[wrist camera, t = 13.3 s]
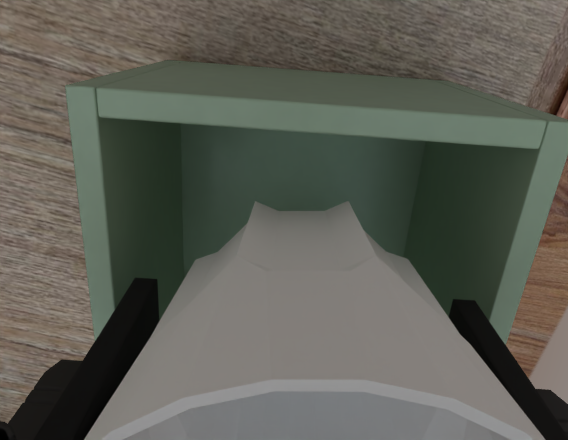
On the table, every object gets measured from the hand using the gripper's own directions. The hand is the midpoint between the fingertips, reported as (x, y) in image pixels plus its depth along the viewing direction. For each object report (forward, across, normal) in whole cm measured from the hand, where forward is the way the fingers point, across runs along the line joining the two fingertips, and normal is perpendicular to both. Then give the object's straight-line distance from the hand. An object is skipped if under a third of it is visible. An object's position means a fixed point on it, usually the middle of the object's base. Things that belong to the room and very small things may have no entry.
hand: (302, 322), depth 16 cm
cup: (+2, 0, 0) cm, 2 cm away
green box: (+12, 0, -1) cm, 12 cm away
